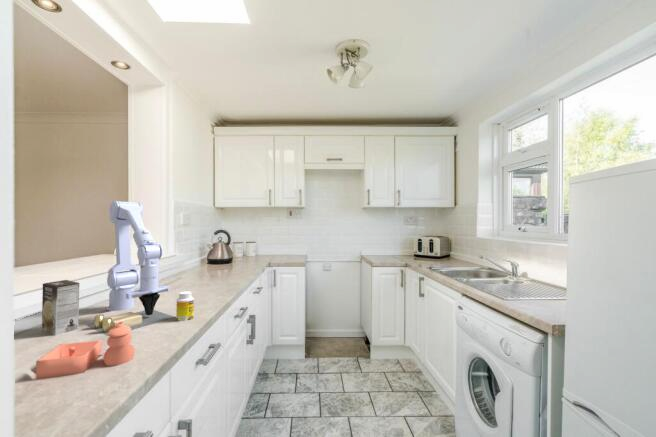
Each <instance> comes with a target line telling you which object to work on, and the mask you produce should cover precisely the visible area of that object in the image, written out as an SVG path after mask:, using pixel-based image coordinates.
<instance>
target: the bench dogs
mask: <svg viewBox="0 0 656 437" xmlns="http://www.w3.org/2000/svg"><path fill="white" fill-rule="evenodd" d="M93 323H94V329H93V330H95V329H101V328H102V333H101V334H103V333H108V332H109V330H110V329H112V318H107V317H105V316H104V314H96V315H94V322H93Z"/></svg>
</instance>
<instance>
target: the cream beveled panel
mask: <svg viewBox="0 0 656 437" xmlns="http://www.w3.org/2000/svg"><path fill="white" fill-rule="evenodd" d="M135 313H136V312H133V311H129V312H124V313H121V314H116V315H112V316H108V317H106V318H112V328H114V327H116V323H118V322H124V325H127V326H129V327H130V326H133V325H137V324H140V323H142V316H141V315H138V314H135Z"/></svg>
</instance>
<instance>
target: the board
mask: <svg viewBox="0 0 656 437" xmlns="http://www.w3.org/2000/svg"><path fill="white" fill-rule="evenodd" d="M134 313H135V314H138V315H141V316H142V323H140V324H137V325H133V326H130V328H131V331H133V330H137V329H139V328H143V327H147V326H150V325H154V324H158V323H162V322H165V321H168V320H172V319H175V318H176V316H174V315H171V314H168V313H164V312H161V311H159V310H155V309H154V310H153V314H152V315H146V313H145V309H144V310H141V311H137V312H134ZM86 326H87V327H89V328H91V329H93V330H95V331H98V332H99V333H101V334H103V335H106V336H107V337H110V336H109V334H108V333H102V328H101V329H94V322H92V323H86Z"/></svg>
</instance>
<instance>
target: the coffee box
mask: <svg viewBox="0 0 656 437" xmlns="http://www.w3.org/2000/svg"><path fill="white" fill-rule="evenodd" d="M41 299H42V300H41V301H42V302H41V303H42V304H41V306H42V308H41V309H42V310H41V312H42V313H41V314H42V315H41V331H42V332H45V333H47V334H50V335H52V336H59V335H62V334H66V333H69V332H73V331H76V330H79V325H80V324H79V322H80V320H79V318H80V317H79V316H80V315H79V314H80V311H79V310H80V282H78V281H73V280H68V279H64V280H57V281H50V282H44V283H42V298H41Z"/></svg>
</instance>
